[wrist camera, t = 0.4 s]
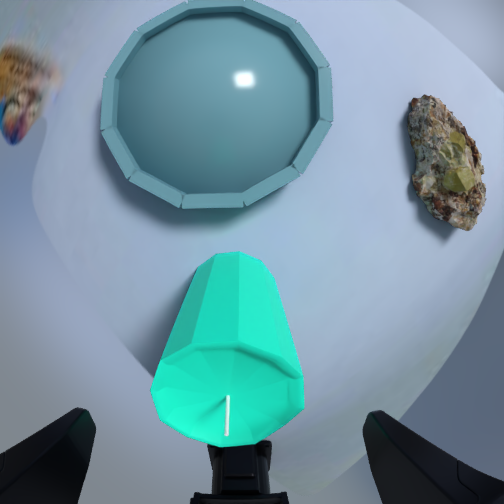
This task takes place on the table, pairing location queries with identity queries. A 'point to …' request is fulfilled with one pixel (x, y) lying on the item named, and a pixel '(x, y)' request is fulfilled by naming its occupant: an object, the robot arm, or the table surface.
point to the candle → (229, 357)
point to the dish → (216, 103)
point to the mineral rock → (445, 164)
